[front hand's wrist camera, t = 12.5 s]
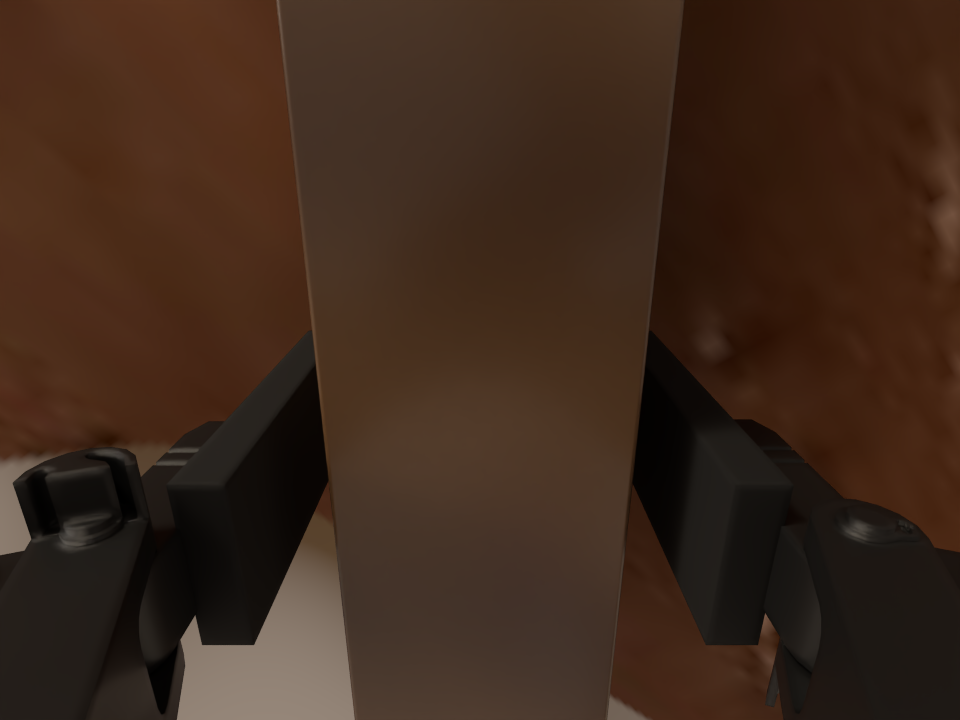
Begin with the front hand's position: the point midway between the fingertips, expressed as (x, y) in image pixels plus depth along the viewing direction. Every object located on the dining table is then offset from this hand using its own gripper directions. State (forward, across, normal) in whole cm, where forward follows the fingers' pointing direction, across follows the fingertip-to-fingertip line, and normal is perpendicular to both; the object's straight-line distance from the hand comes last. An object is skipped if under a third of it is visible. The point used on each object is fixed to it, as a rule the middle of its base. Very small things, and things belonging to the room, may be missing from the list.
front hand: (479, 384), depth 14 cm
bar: (+2, 0, -30) cm, 30 cm away
